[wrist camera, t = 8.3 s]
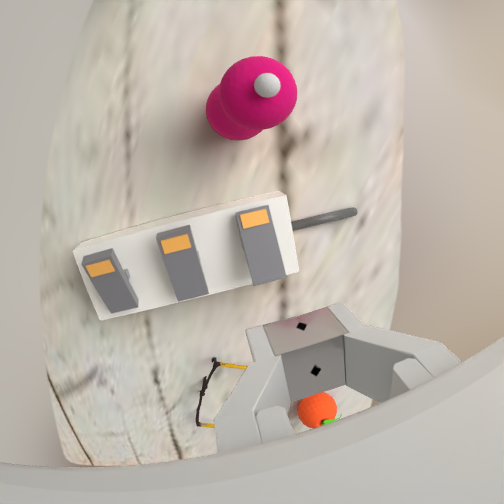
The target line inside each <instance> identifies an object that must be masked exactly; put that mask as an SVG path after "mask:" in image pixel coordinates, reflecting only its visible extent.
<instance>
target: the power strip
mask: <svg viewBox="0 0 504 504" xmlns="http://www.w3.org/2000/svg"><path fill="white" fill-rule="evenodd" d="M265 205H269V209H270V213H271V217H272V221H273V225H274V229H275V232H276V236H277V240H278V244H279V248H280V252H281V256H282V260H283V264H284V268H285V272H286V275H288V274H292V273H295V272H299V267H298V260H297V254H296V248H295V242H294V236H293V231H294V230H299V229H303V228H307V227H311V226H315V225H319V224H323V223H327V222H331V221H335V220H339V219H344V218H348V217H352V216H355V215H356V214H357V209H356V208H348V209H344V210H340V211H335V212H331V213H327V214H323V215H318V216H314V217H310V218H306V219H301V220H297V221H293V222H291V219H290V213H289V207H288V202H287V196H286V195H285V194H283V193H282V192H280V191H274V192H269V193H265V194H261V195H256V196H252V197H248V198H243V199H239V200H235V201H231V202H226V203H222V204H218V205H214V206H210V207H206V208H202V209H198V210H194V211H190V212H186V213H183V214H179V215H175V216H171V217H167V218H164V219H160V220H156V221H153V222H149V223H145V224H142V225H138V226H135V227H131V228H127V229H124V230H120V231H117V232H114V233H110V234H107V235H103V236H100V237H97V238H93V239H90V240H87V241H83V242H81V243H80V244H79V245H78V246H77V247H76V248H75V249H74V250H73V251H72V252H73V255H74V257H75V260H76V263H77V266H78V268H79V271H80V273H81V276H82V279H83V281H84V284H85V286H86V289H87V291H88V294H89V296H90V298H91V301H92V303H93V306H94V308H95V310H96V313H97V315H98V317H99V319H100V321H102V320H106V319H111V318H115V317H119V316H124V315H128V314H132V313H137V312H141V311H145V310H150V309H154V308H158V307H162V306H166V305H171V304H175V303H179V302H183V301H187V300H191V299H195V298H199V297H203V296H207V295H211V294H215V293H219V292H223V291H227V290H231V289H235V288H239V287H243V286H246V285H250V284H253V283H252V279H251V275H250V272H249V268H248V264H247V260H246V256H245V252H244V248H243V244H242V240H241V236H240V232H239V228H238V224H237V220H236V216H235V213H236V212H239V211H244V210H248V209H252V208H256V207H260V206H265ZM186 225H190V227H191V230H192V234H193V238H194V241H195V245H196V248H197V252H198V255H199V259H200V262H201V266H202V269H203V272H204V276H205V279H206V283H207V286H208V291H209V294H207V295H203V296H199V297H195V298H191V299H187V300H183V301H179V302H178V300H177V297H176V295H175V292H174V289H173V287H172V284H171V281H170V278H169V275H168V272H167V270H166V267H165V264H164V261H163V258H162V255H161V252H160V249H159V246H158V243H157V240H156V235H157V233H160V232H163V231H167V230H171V229H175V228H179V227H182V226H186ZM111 248H113V250H114V252H115V254H116V256H117V258H118V260H119V262H120V264H121V266H122V268H123V270H124V272H125V274H126V276H127V278H128V280H129V282H130V284H131V286H132V288H133V290H134V292H135V293H136V295H137V297H138V299H139V302H138V308H133V309H129V310H125V311H121V312H116V313H112V314H111V313H110V311H109V309H108V308H107V306H106V305H105V303H104V302H103V300H102V298H101V297H100V295H99V293H98V292H97V290H96V289H95V287H94V285H93V284H92V282H91V280H90V278H89V277H88V275H87V273H86V272H85V270H84V268H83V266H82V265H81V264H82V260H83V256H86V255H90V254H93V253H97V252H100V251H104V250H107V249H111Z"/></svg>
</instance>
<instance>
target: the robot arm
mask: <svg viewBox="0 0 504 504" xmlns="http://www.w3.org/2000/svg"><path fill="white" fill-rule="evenodd" d="M245 331H246V336H247V339H248V343H249V347H250V351H251V354H252V358H253V362H252V363H250V364H249V365H248V367H247V368H246V370H245V372H244V373H243V375H242V376H241V378H240V380H239V381H238V383H237V384H236V386H235V388H234V389H233V391H232V392H231V394H230V396H229V397H228V399H227V400H226V402H225V403H224V405H223V407H222V408H221V410H220V411H219V413H218V414H217V416H216V417H215V419H214V425H215V434H216V442H217V450H218V454H213V455H207V456H202V457H196V458H189V459H183V460H176V461H169V462H160V463H151V464H141V465H129V466H113V467H79V468H78V467H45V466H29V465H18V464H9V463H1V462H0V504H504V336H503V337H502V338H500V339H499V340H497V341H496V342H494V343H493V344H491V345H490V346H489V347H487V348H485V349H484V350H482V351H480V352H479V353H477V354H475V355H474V356H472V357H470V358H469V359H467V360H465V361H464V362H462V361H461V360H460V359H458V358H457V357H456V356H455V355H454V354H453V353H452V352H451V351H450V350H449V349H447V348H446V347H445V346H444V345H443V344H442V343H441V342H438V341H434V340H429V339H425V338H420V337H416V336H412V335H408V334H403V333H399V332H395V331H391V330H387V329H383V328H379V327H375V326H371V325H370V326H367V327H366V326H365V325H364V324H363V323H362V322H361V321H360V320H359V319H358V318H357V317H356V316H355V314H354V313H353V312H352V311H351V310H350V309H349V308H348V307H347V306H346V305H345V304H344V303H343V302H338V303H336V304H333V305H330V306H327V307H325V308H322V309H319V310H316V311H313V312H309V313H306V314H303V315H300V316H297V317H292V318H288V319H284V320H280V321H276V322H273V323H269V324H265V325H260V326H257V327H253V328H250V329H246V330H245ZM343 385H346V386H348V387H350V388H352V389H354V390H356V391H358V392H360V393H362V394H364V395H366V396H368V397H370V398H372V399H374V400H376V401H378V402H380V404H377V405H375V406H373V407H370V408H368V409H365V410H363V411H360V412H358V413H355V414H353V415H350V416H348V417H345V418H342V419H339V420H337V421H334V422H331V423H328V424H325V425H323V426H320V427H317V428H314V429H310V430H307V431H304V432H301V433H298V434H294V431H293V429H292V426H291V423H290V421H289V418H288V416H287V415H288V412H289V409H290V406H291V403H292V402H295V401H298V400H301V399H303V398H306V397H309V396H312V395H315V394H318V393H321V392H324V391H327V390H330V389H334V388H337V387H340V386H343Z"/></svg>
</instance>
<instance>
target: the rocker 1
mask: <svg viewBox="0 0 504 504" xmlns="http://www.w3.org/2000/svg"><path fill="white" fill-rule="evenodd" d="M81 265H82V266H83V268H84V270H85V272H86V273H87V275H88V277H89V278H90V280H91V282H92V284H93V285H94V287H95V289H96V290H97V292H98V293H99V295H100V297H101V298H102V300H103V302H104V303H105V305H106V306H107V308H108V309H109V311H110V313H111V314H112V313H116V312H121V311H125V310H129V309H133V308H138V302H139V299H138V297H137V295H136V293H135V292H134V290H133V288H132V286H131V284H130V282H129V280H128V278H127V276H126V274H125V272H124V270H123V268H122V266H121V264H120V262H119V260H118V258H117V256H116V254H115V252H114V250H113V248H111V249H107V250H104V251H100V252H97V253H93V254H90V255H86V256H83V260H82V264H81Z"/></svg>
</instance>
